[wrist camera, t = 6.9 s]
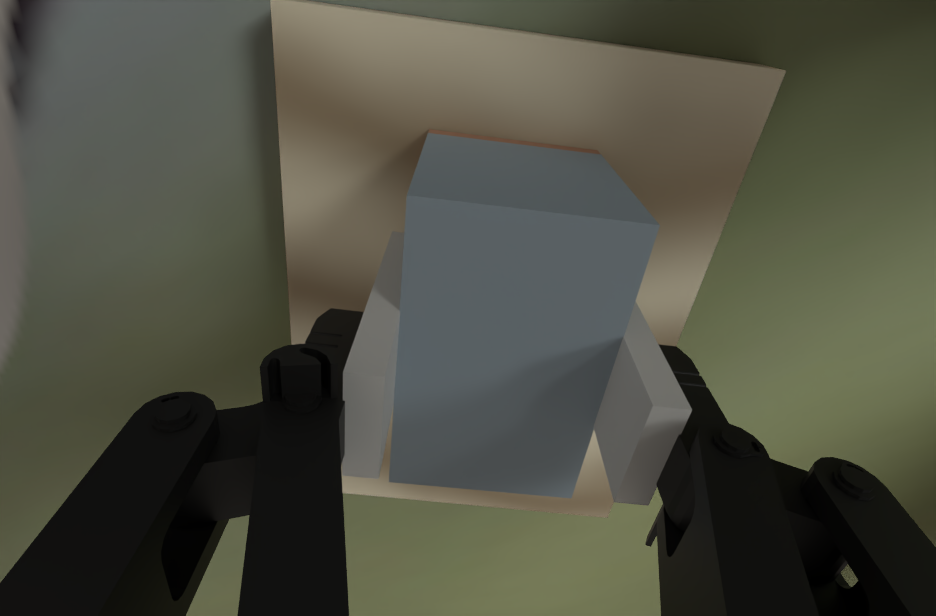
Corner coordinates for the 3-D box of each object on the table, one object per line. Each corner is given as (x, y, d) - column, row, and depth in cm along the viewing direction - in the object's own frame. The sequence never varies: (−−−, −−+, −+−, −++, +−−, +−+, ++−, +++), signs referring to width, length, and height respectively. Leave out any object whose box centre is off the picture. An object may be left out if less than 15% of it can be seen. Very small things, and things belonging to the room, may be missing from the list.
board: (288, -3, 15) (270, -2, 14) (761, 64, 16) (786, 70, 14) (309, 463, 25) (300, 489, 23) (600, 491, 25) (607, 517, 24)
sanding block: (429, 129, 15) (406, 195, 10) (597, 150, 16) (660, 225, 10) (411, 352, 19) (388, 482, 14) (545, 366, 20) (571, 498, 14)
